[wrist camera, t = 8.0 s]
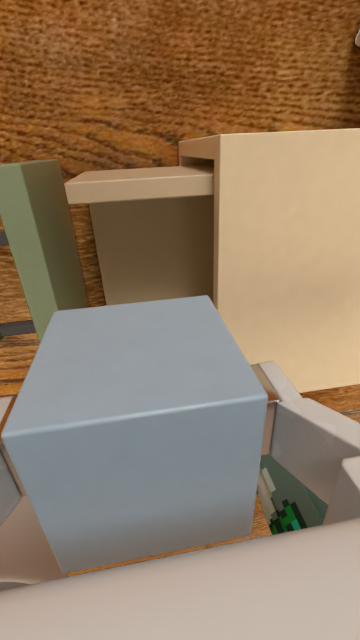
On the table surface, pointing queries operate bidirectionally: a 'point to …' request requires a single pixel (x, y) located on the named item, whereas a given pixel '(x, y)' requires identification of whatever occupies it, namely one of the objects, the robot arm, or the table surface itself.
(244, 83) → the table surface
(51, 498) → the block
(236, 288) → the cabinet
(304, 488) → the can
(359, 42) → the cosmetic box
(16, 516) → the mug
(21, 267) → the drawer
